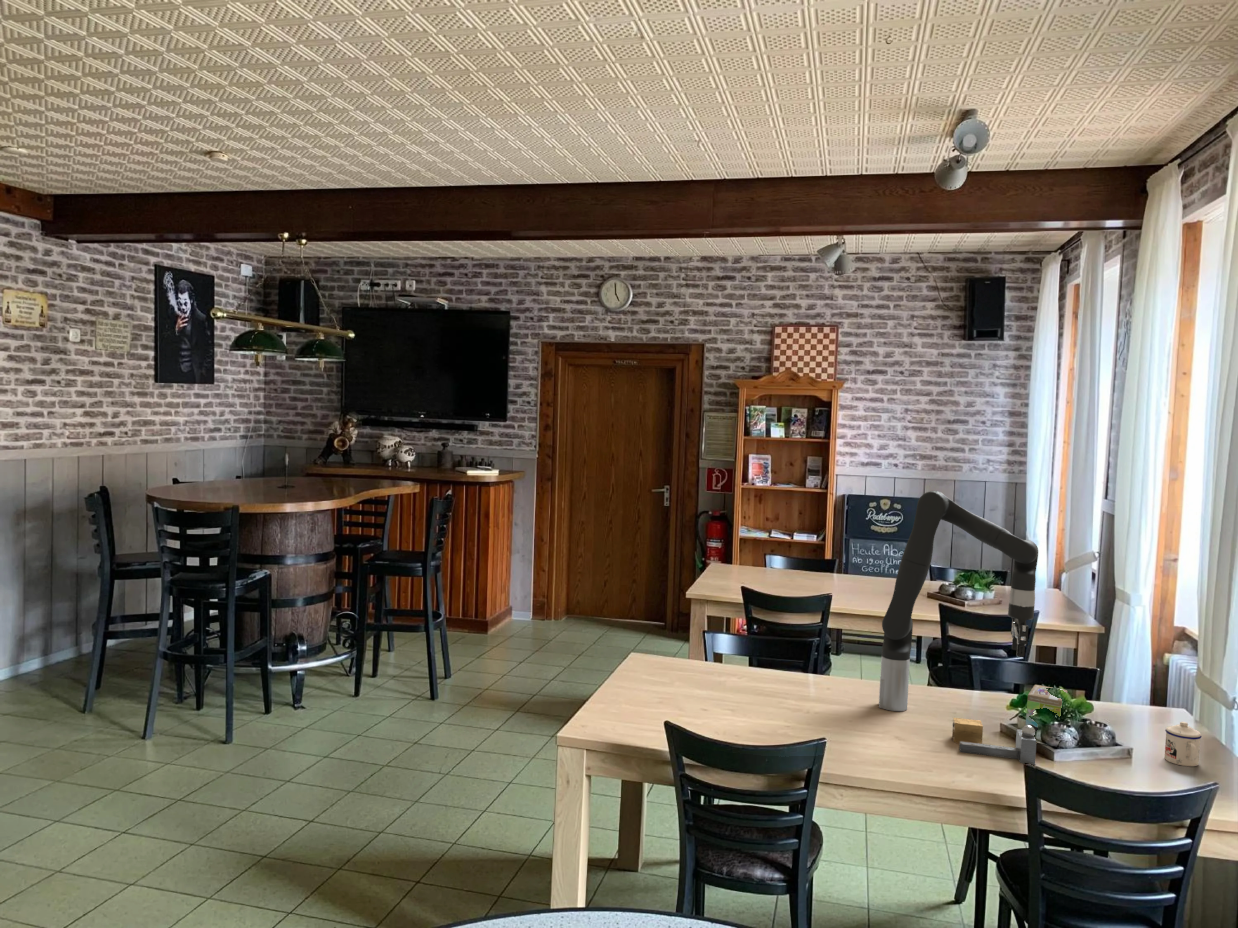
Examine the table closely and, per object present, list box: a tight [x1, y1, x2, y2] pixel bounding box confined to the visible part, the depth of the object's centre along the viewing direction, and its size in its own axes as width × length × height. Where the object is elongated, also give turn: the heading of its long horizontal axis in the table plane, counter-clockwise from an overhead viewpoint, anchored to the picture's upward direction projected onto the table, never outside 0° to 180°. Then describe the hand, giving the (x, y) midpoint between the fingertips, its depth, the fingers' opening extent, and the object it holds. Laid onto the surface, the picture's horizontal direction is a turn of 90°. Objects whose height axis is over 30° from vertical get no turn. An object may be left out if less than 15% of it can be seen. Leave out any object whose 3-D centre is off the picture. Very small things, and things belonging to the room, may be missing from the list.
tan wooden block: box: [951, 717, 984, 744], centre depth 285 cm, size 8×6×6 cm
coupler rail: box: [958, 725, 1037, 765], centre depth 274 cm, size 20×9×10 cm, turn 75°
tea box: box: [1024, 684, 1069, 732], centre depth 290 cm, size 15×10×15 cm
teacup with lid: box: [1164, 721, 1202, 767], centre depth 273 cm, size 12×9×12 cm
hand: (1017, 653), depth 298 cm, fingers open, 8 cm apart
